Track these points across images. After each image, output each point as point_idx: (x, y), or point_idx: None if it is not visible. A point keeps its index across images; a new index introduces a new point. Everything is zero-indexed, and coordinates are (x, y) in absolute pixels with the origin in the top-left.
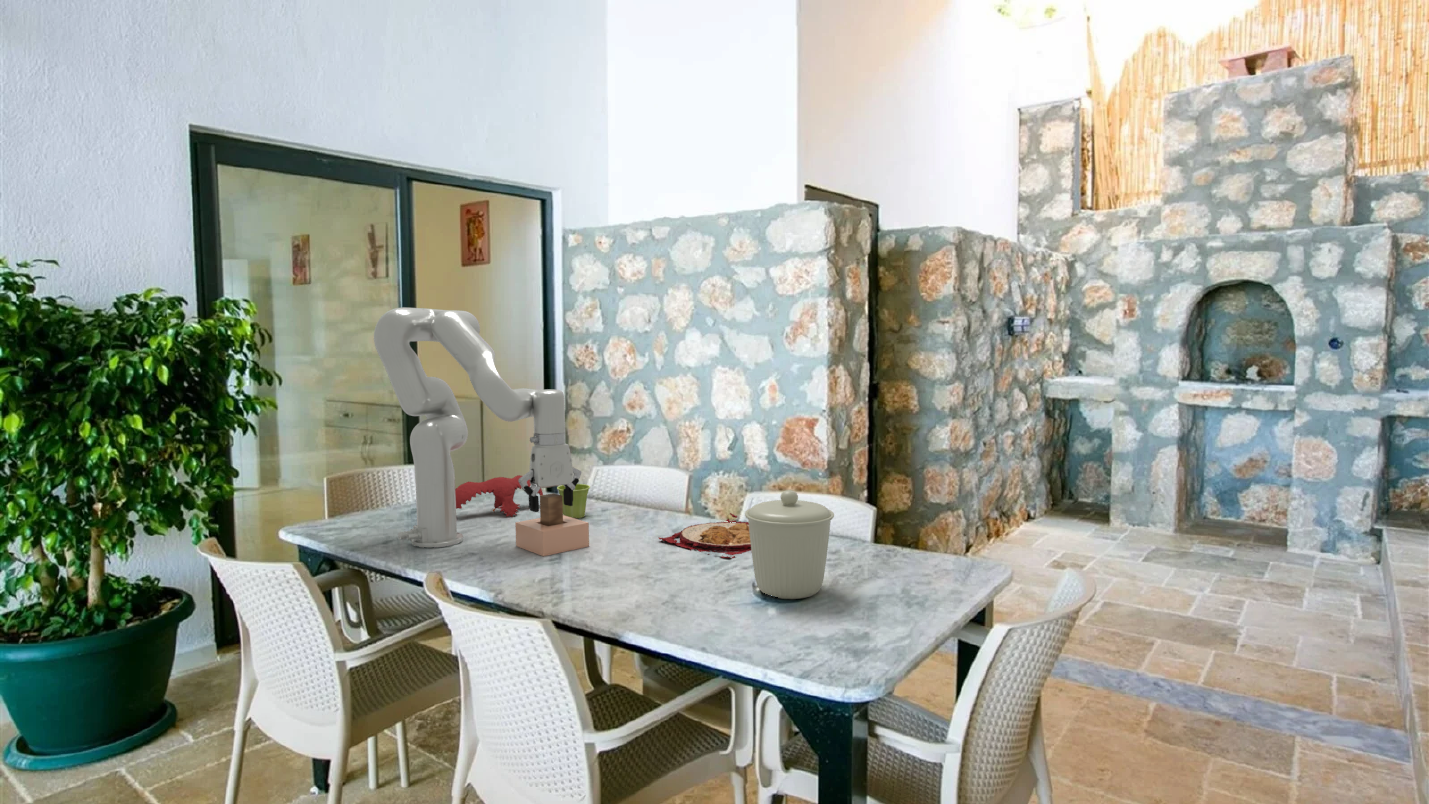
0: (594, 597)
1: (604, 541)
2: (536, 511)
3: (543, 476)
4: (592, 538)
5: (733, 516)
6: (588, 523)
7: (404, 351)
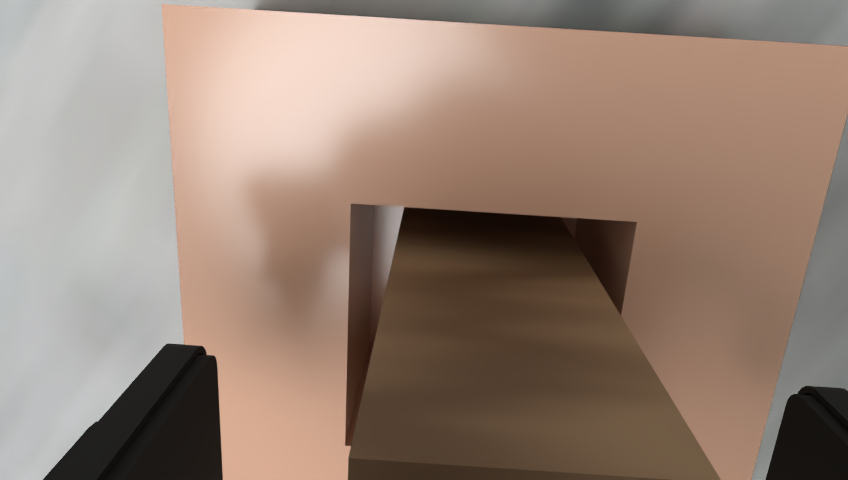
0: None
1: (56, 52)
2: (839, 392)
3: None
4: (90, 212)
5: None
6: (167, 6)
7: None
